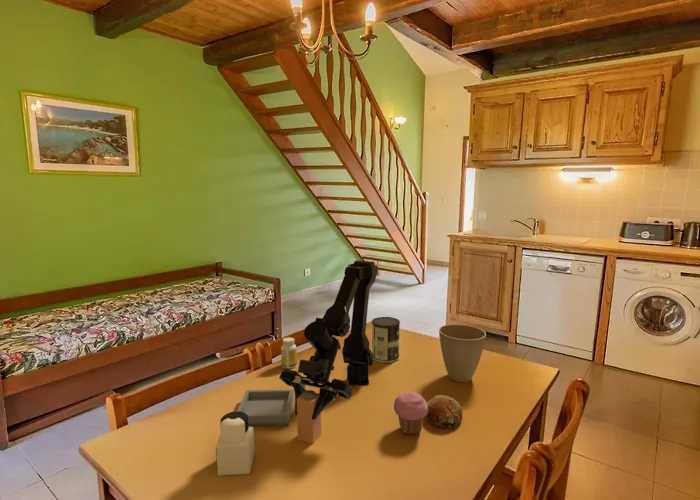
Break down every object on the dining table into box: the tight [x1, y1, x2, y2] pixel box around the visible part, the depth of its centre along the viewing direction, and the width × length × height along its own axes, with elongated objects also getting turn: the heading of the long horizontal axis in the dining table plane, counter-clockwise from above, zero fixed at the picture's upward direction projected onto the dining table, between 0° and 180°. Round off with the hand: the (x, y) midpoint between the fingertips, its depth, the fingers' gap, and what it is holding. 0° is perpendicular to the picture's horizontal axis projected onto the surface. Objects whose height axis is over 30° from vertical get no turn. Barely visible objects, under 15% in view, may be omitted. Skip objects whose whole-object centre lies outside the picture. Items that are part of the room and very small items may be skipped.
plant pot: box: [438, 323, 487, 383], centre depth 134 cm, size 15×15×16 cm
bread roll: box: [425, 394, 463, 429], centre depth 111 cm, size 10×10×8 cm
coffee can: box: [371, 316, 401, 364], centre depth 151 cm, size 10×10×14 cm
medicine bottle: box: [215, 410, 255, 476], centre depth 92 cm, size 7×7×12 cm
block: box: [296, 389, 322, 445], centre depth 103 cm, size 4×4×12 cm
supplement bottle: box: [280, 337, 298, 370], centre depth 144 cm, size 5×5×10 cm
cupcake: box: [393, 391, 428, 435], centre depth 106 cm, size 9×9×10 cm
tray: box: [236, 388, 295, 427], centre depth 115 cm, size 14×14×3 cm
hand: (304, 417), depth 100 cm, fingers closed on block, 4 cm apart
